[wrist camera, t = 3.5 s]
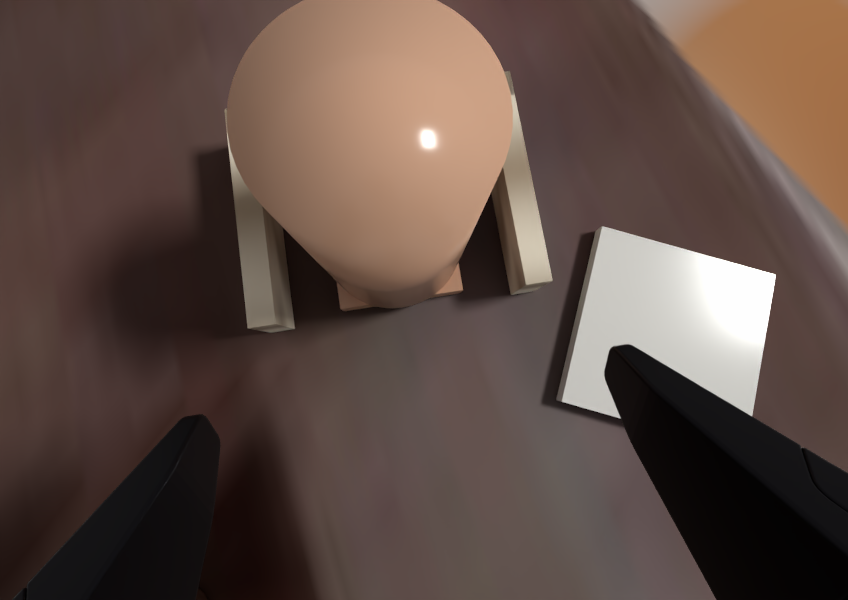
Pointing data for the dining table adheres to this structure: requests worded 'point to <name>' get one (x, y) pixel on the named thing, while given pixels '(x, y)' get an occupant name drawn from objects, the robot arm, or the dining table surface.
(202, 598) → the beer glass
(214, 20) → the dining table surface
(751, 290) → the tile
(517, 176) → the frame
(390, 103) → the peach tapered rounded piece
